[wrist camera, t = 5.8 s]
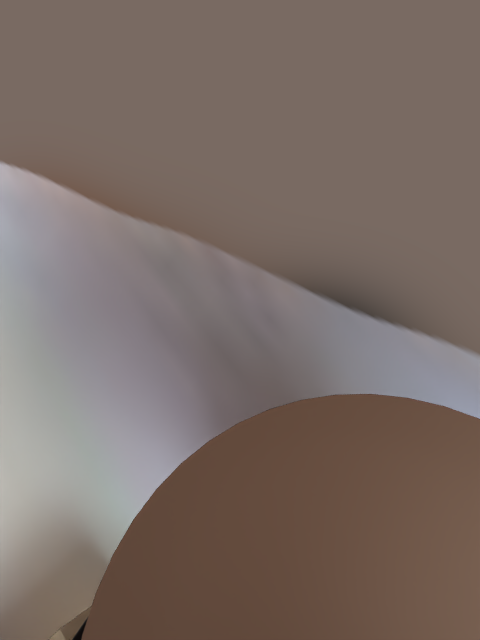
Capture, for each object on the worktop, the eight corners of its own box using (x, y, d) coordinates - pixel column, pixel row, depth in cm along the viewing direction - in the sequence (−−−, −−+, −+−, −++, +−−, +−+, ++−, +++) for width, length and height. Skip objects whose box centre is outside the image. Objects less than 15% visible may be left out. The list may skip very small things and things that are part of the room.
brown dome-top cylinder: (311, 626, 13) (432, 1752, 2) (221, 507, 14) (-40, 664, 3) (410, 523, 13) (989, 831, 2) (312, 420, 15) (367, 293, 4)
